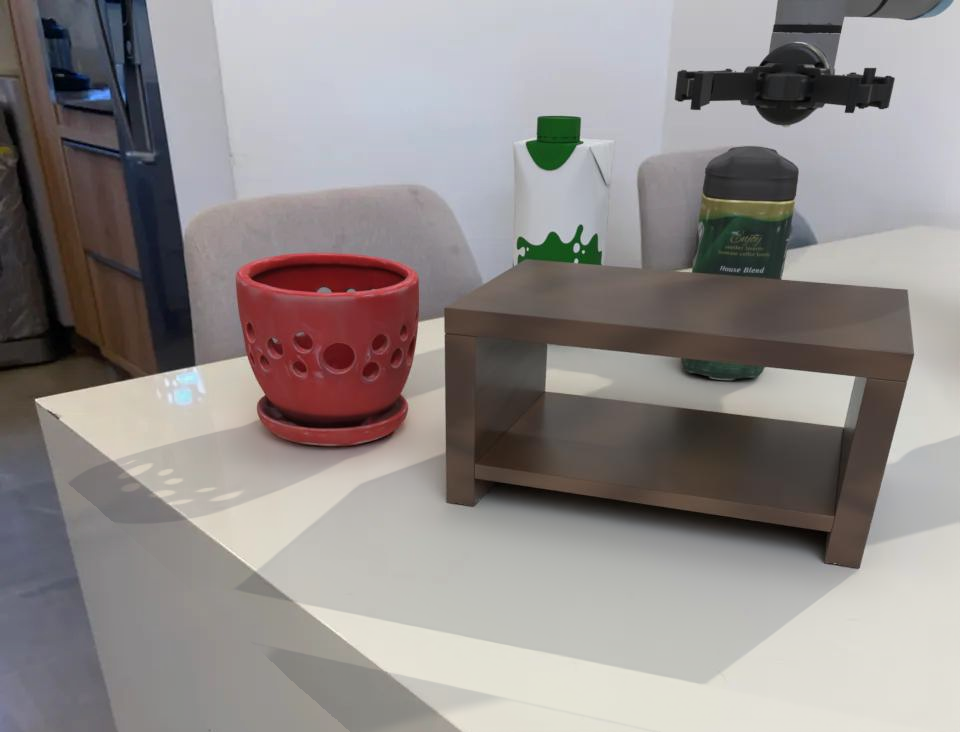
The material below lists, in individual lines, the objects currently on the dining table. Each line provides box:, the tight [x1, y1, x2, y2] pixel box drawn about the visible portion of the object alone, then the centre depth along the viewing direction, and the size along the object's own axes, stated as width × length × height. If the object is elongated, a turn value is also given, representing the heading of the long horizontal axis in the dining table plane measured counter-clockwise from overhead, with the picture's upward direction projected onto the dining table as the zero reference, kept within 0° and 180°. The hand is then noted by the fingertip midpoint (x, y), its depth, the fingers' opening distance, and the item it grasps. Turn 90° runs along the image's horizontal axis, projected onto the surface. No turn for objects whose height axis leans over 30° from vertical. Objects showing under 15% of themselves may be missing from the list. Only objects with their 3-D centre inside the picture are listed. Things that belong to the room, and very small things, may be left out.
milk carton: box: [512, 115, 616, 267], centre depth 93 cm, size 9×9×20 cm
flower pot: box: [235, 252, 420, 447], centre depth 71 cm, size 13×13×12 cm
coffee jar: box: [680, 145, 800, 381], centre depth 84 cm, size 10×8×19 cm
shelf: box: [443, 259, 915, 569], centre depth 62 cm, size 26×16×12 cm, turn 70°
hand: (773, 92), depth 85 cm, fingers open, 13 cm apart
